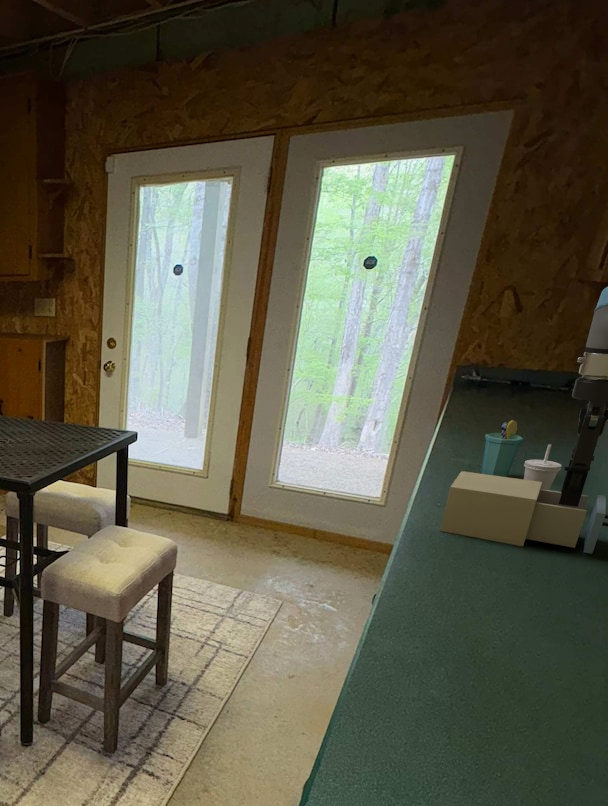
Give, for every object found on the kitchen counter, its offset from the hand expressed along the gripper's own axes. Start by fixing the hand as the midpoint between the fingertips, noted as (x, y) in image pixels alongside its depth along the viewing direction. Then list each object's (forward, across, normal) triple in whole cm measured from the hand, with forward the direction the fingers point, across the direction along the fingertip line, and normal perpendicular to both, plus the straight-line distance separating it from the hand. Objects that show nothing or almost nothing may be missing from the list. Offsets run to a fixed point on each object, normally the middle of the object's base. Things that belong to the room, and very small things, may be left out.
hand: (569, 498), depth 118 cm
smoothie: (+9, -23, -5) cm, 25 cm away
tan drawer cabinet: (+9, 0, -12) cm, 14 cm away
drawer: (+8, 0, +1) cm, 8 cm away
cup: (+9, -42, -14) cm, 45 cm away
